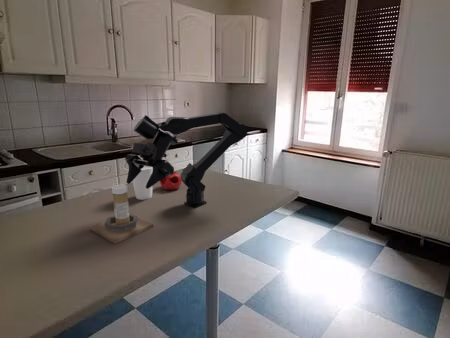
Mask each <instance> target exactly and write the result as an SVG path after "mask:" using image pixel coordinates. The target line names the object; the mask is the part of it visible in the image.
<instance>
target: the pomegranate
mask: <svg viewBox="0 0 450 338" xmlns="http://www.w3.org/2000/svg"><path fill="white" fill-rule="evenodd" d="M182 183H183V182H182V180H181V174H178V172H177V170H175V169H174V172H173V174H172V176H171V175H168V177H165V178H163V179H162V180H160V181H159V184H160V186H161V188H162V189H164V190H166V191H167V190H171V191H172V190H173V191H174V190H178V189H179V188H180V187H181V184H182Z"/></svg>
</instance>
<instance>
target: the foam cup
mask: <svg viewBox="0 0 450 338" xmlns="http://www.w3.org/2000/svg"><path fill="white" fill-rule="evenodd" d="M141 170H142V171H141V172H140V173H139V174H138V175H137V176H136V178H135V179H134V180H133V181H132V186H133V189H134V194H135V198H136V199H137V200H142V201H143V200H144V201H145V200H149V199H151V198H152V197H153V187H154V185H153V186H151V187H150V188H149V189H147V188H146V184H147V182H148V180H149V178H150V176H151V174H152V172H153V167H148V166H144V167H143V168H142V169H141Z"/></svg>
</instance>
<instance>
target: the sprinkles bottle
mask: <svg viewBox="0 0 450 338" xmlns="http://www.w3.org/2000/svg"><path fill="white" fill-rule="evenodd" d="M128 189H129V188H128V185H127V184H125V183H121V184H115V185H112V186H111V192H112V196H113V197H112V199H113V210H114V215H115V219H116V225H124V224H127V223H129V222H130V218H129V213H130V205H129V198H128V191H129V190H128Z"/></svg>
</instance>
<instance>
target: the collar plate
mask: <svg viewBox="0 0 450 338" xmlns="http://www.w3.org/2000/svg"><path fill="white" fill-rule="evenodd" d="M129 218H130V222H129V223H127V224H124V225H116V219H115V214H114V215H111V216H109V217H107V218H106V220H105V221H103V222H100V223H97V224H95V225H91V226H90V227H89V230H90V231H91V232H93V233H95V234H97V235H98V236H100V237H101V238H104V239H106V240H107V241H109V242H110V243H113V244H117V243H120V242H123V241H124V240H127V239H128V238H131V237H133V236H136V235H138V234H140V233H143V232H144V231H146V230H149V229H152V228H153V227H154V223H153V222H150V221H148V220H146V219H143V218H141V217H139V216H138V215H135V214H133V213H131V212H129Z"/></svg>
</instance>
